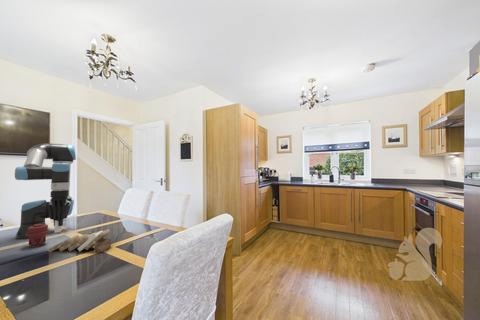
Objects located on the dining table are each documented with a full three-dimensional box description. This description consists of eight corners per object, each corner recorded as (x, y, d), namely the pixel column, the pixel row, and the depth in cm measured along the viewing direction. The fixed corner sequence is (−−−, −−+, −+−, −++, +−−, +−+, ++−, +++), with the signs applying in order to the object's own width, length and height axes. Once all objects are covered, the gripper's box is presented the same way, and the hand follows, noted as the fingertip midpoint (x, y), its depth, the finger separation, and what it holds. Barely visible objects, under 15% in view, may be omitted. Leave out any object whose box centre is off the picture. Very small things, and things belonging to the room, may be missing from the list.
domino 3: (67, 248, 105) (86, 235, 105) (76, 244, 111) (94, 232, 111) (69, 251, 105) (88, 238, 105) (78, 247, 111) (96, 235, 111)
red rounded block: (53, 242, 118) (32, 249, 108) (40, 241, 120) (19, 248, 110) (54, 222, 118) (34, 227, 108) (41, 221, 120) (21, 226, 110)
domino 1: (48, 248, 104) (69, 238, 105) (59, 244, 110) (78, 234, 111) (50, 251, 104) (70, 241, 105) (60, 247, 110) (79, 237, 111)
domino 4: (88, 247, 111) (104, 232, 111) (79, 251, 105) (96, 236, 105) (85, 244, 111) (101, 230, 111) (77, 248, 105) (93, 233, 105)
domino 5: (84, 247, 105) (101, 232, 105) (92, 243, 111) (108, 228, 111) (86, 250, 105) (103, 235, 105) (94, 245, 111) (110, 231, 111)
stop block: (93, 252, 104) (94, 242, 104) (104, 246, 112) (104, 237, 112) (101, 252, 104) (101, 242, 104) (111, 246, 112) (111, 237, 112)
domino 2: (58, 248, 105) (78, 237, 105) (68, 244, 111) (86, 233, 111) (60, 251, 105) (79, 240, 105) (70, 247, 110) (88, 236, 111)
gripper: (41, 190, 105) (39, 234, 104) (65, 190, 106) (63, 233, 104) (54, 189, 113) (52, 229, 112) (76, 189, 113) (75, 229, 112)
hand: (57, 231), depth 108 cm, fingers closed
